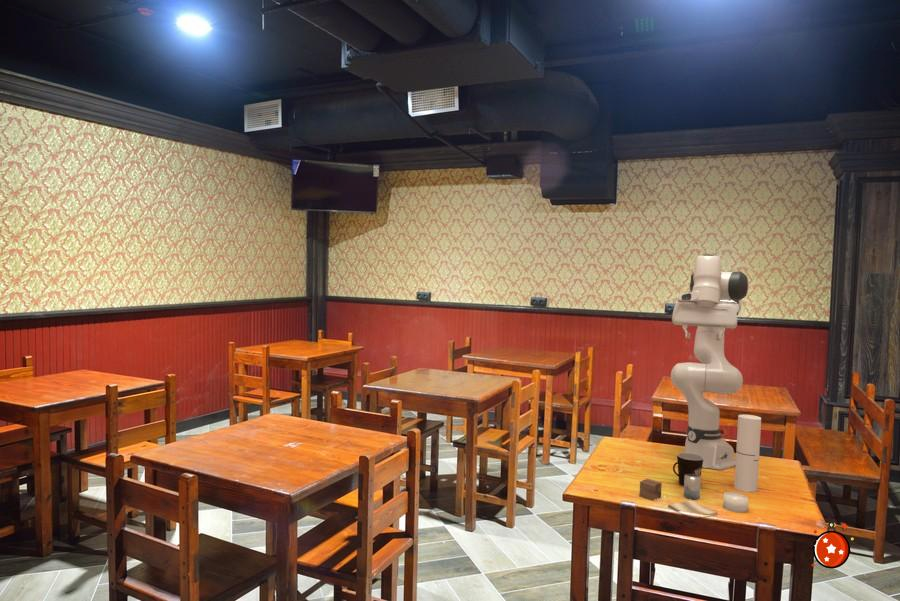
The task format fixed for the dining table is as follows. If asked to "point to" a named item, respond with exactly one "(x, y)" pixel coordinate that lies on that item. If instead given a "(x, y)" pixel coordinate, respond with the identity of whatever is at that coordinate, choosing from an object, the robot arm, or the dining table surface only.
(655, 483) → the walnut block
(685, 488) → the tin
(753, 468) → the cylindrical container
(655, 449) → the dining table surface
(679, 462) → the coffee mug
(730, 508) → the white rounded block
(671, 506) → the wavy beige sheet
